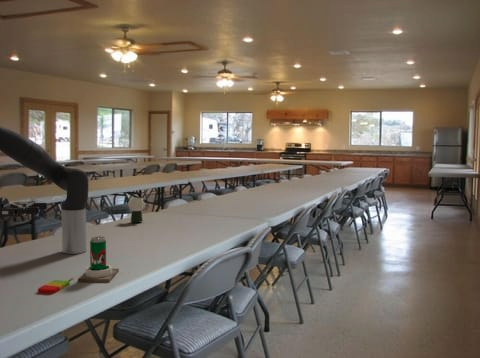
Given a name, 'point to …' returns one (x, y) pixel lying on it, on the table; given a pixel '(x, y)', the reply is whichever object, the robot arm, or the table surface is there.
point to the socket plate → (98, 275)
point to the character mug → (136, 209)
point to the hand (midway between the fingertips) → (43, 208)
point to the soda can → (98, 253)
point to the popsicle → (54, 286)
